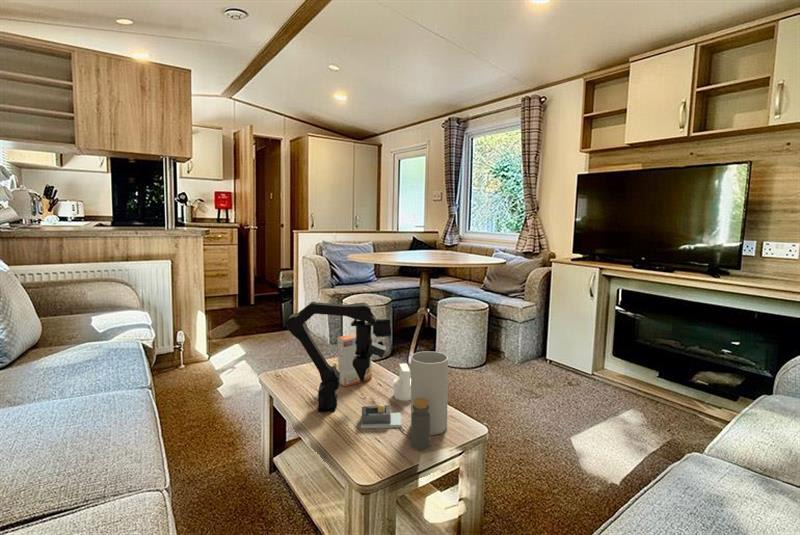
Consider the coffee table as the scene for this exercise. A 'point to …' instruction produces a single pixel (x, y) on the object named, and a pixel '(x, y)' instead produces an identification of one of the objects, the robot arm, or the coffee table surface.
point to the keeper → (394, 423)
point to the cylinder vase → (431, 386)
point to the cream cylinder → (403, 383)
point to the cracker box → (349, 361)
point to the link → (375, 415)
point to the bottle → (420, 425)
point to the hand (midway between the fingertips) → (363, 376)
